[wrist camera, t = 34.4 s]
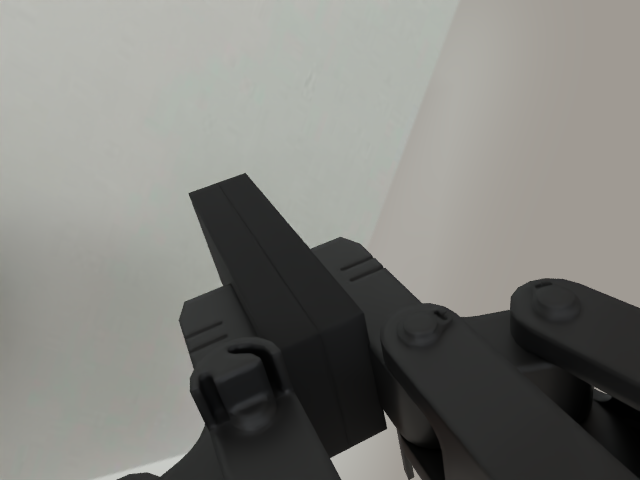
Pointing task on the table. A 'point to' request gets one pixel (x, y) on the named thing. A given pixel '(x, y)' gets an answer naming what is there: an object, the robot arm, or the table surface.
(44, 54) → the table surface
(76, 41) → the table surface
